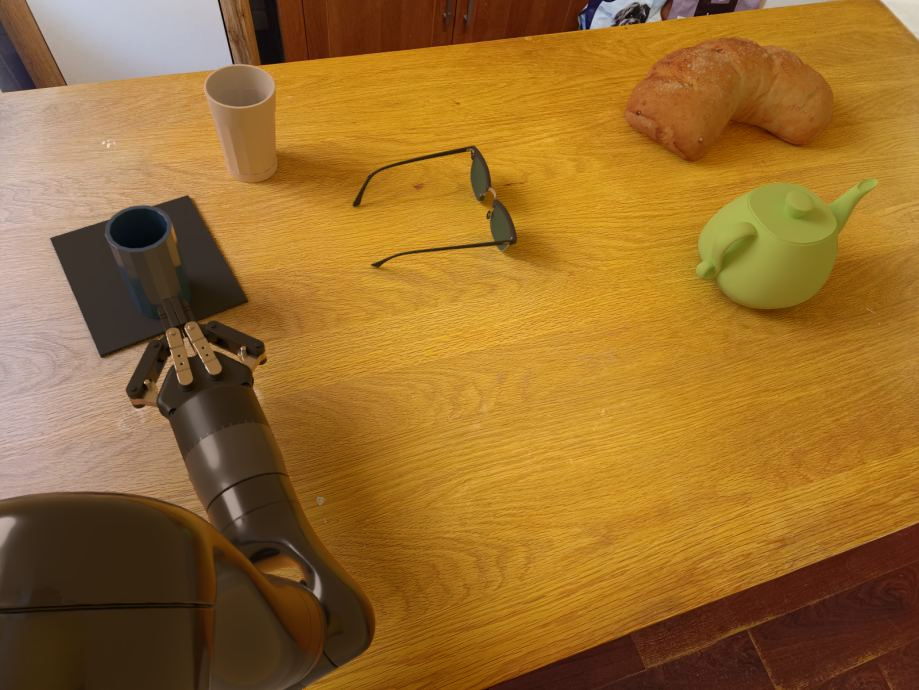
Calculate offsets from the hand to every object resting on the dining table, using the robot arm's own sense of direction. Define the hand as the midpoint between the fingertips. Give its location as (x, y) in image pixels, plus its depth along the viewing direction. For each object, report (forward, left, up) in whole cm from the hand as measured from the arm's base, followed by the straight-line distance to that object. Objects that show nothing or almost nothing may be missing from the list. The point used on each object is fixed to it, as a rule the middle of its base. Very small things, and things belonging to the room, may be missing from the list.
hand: (170, 302), depth 71 cm
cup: (+17, +24, -9) cm, 30 cm away
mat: (0, +13, -9) cm, 15 cm away
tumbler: (0, +8, -8) cm, 12 cm away
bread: (+83, +6, -9) cm, 84 cm away
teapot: (+66, -20, -9) cm, 70 cm away
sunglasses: (+32, +5, -9) cm, 34 cm away
